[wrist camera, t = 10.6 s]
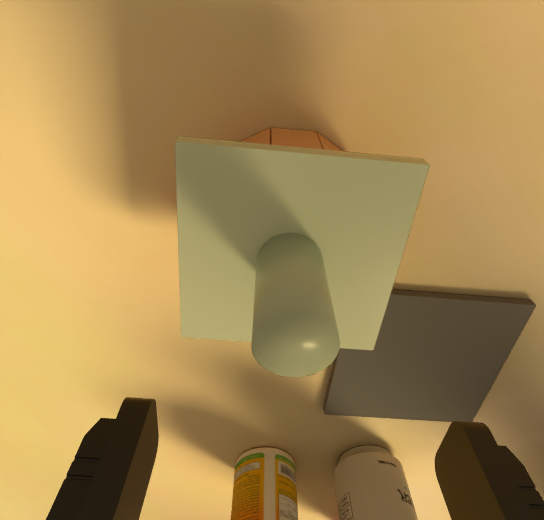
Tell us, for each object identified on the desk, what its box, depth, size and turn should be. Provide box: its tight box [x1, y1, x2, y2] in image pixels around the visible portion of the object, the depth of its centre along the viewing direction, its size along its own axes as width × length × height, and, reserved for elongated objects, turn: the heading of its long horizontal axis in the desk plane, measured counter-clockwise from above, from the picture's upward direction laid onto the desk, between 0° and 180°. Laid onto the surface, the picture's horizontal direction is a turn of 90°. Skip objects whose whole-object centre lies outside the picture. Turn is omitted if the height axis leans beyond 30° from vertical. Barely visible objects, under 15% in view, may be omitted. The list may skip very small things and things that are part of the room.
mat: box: [323, 289, 536, 422], centre depth 29 cm, size 12×12×1 cm
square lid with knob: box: [175, 136, 430, 377], centre depth 16 cm, size 10×10×6 cm
